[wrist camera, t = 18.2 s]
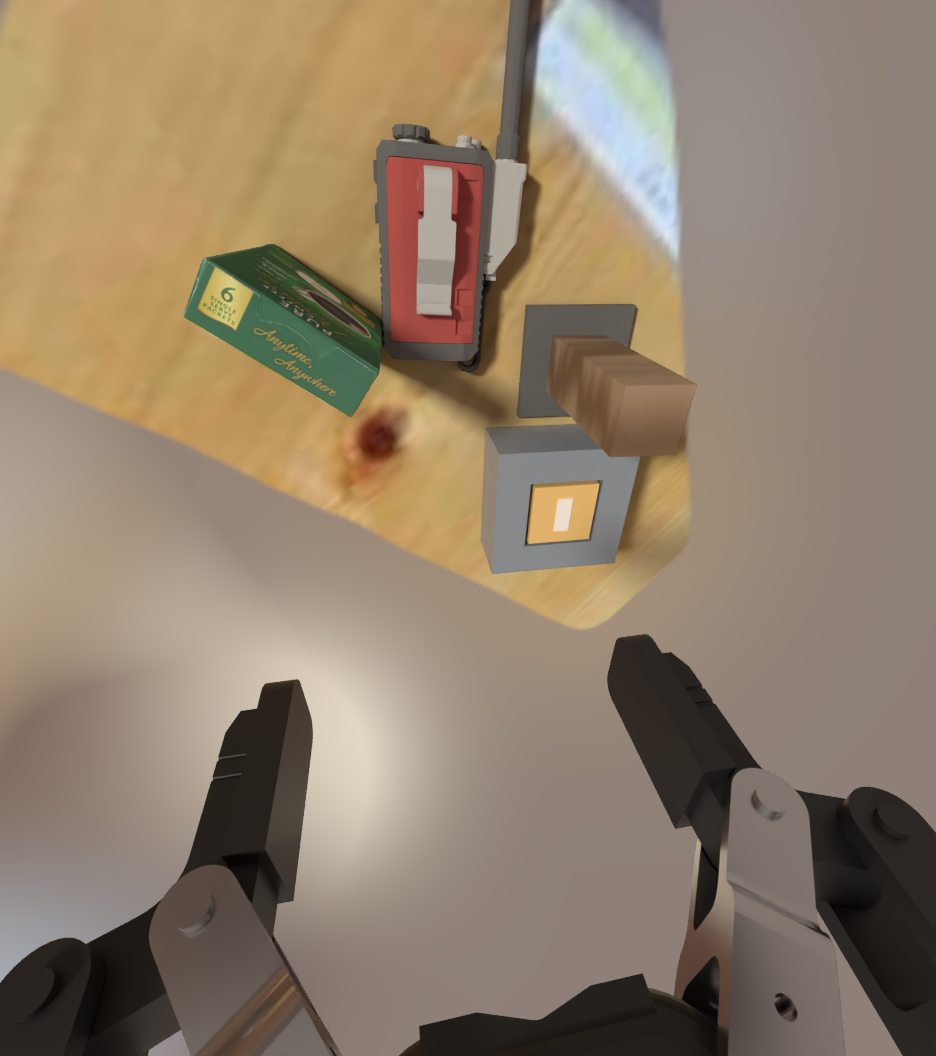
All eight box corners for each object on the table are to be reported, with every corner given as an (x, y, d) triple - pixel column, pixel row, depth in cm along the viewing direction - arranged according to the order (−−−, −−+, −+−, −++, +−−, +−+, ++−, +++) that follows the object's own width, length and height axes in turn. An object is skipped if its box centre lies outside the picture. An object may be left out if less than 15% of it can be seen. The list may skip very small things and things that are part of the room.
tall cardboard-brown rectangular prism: (552, 335, 34) (625, 385, 24) (604, 335, 34) (697, 384, 24) (545, 390, 36) (610, 457, 26) (594, 389, 36) (675, 454, 27)
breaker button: (521, 464, 39) (535, 488, 35) (581, 461, 39) (600, 484, 36) (516, 517, 41) (528, 544, 38) (572, 513, 42) (589, 539, 39)
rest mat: (525, 304, 33) (528, 306, 32) (632, 304, 34) (636, 305, 33) (516, 414, 37) (518, 417, 37) (611, 411, 38) (614, 413, 38)
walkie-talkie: (498, 367, 35) (537, -25, 24) (512, 385, 32) (565, -67, 21) (380, 364, 34) (365, -54, 23) (381, 382, 30) (363, -105, 19)
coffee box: (248, 280, 29) (174, 319, 19) (268, 237, 28) (202, 251, 18) (361, 356, 33) (355, 425, 22) (383, 320, 32) (387, 375, 21)
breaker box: (485, 428, 37) (499, 454, 33) (614, 422, 39) (642, 446, 35) (480, 540, 43) (491, 574, 39) (592, 531, 45) (614, 562, 41)
